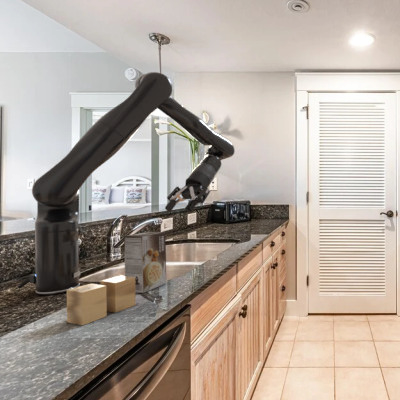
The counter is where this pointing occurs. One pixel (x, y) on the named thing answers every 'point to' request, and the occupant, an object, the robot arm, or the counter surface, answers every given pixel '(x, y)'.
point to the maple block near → (86, 304)
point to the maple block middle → (119, 293)
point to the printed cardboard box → (146, 260)
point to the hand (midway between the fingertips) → (177, 210)
